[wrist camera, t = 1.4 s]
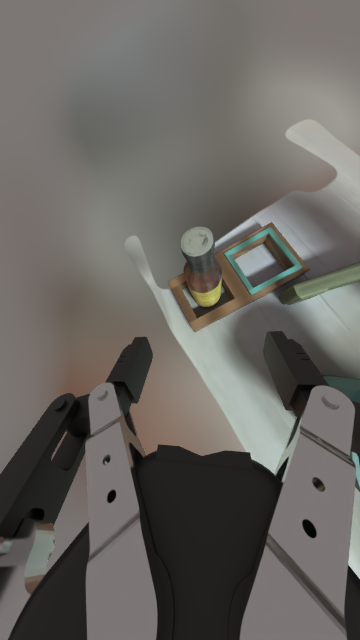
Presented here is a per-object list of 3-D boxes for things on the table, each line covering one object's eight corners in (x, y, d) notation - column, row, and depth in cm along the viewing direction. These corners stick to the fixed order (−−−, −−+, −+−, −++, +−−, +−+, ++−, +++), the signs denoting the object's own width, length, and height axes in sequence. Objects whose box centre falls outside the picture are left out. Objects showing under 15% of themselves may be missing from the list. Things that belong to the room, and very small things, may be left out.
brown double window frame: (266, 231, 37) (272, 220, 34) (301, 276, 34) (310, 268, 31) (170, 286, 40) (167, 281, 36) (194, 332, 37) (193, 330, 33)
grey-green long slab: (276, 293, 35) (407, 251, 31) (282, 307, 34) (416, 265, 30) (292, 282, 28) (459, 227, 24) (299, 299, 28) (472, 245, 24)
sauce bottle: (226, 295, 36) (241, 240, 17) (206, 314, 37) (199, 279, 18) (206, 277, 38) (200, 208, 19) (187, 294, 38) (162, 244, 19)
